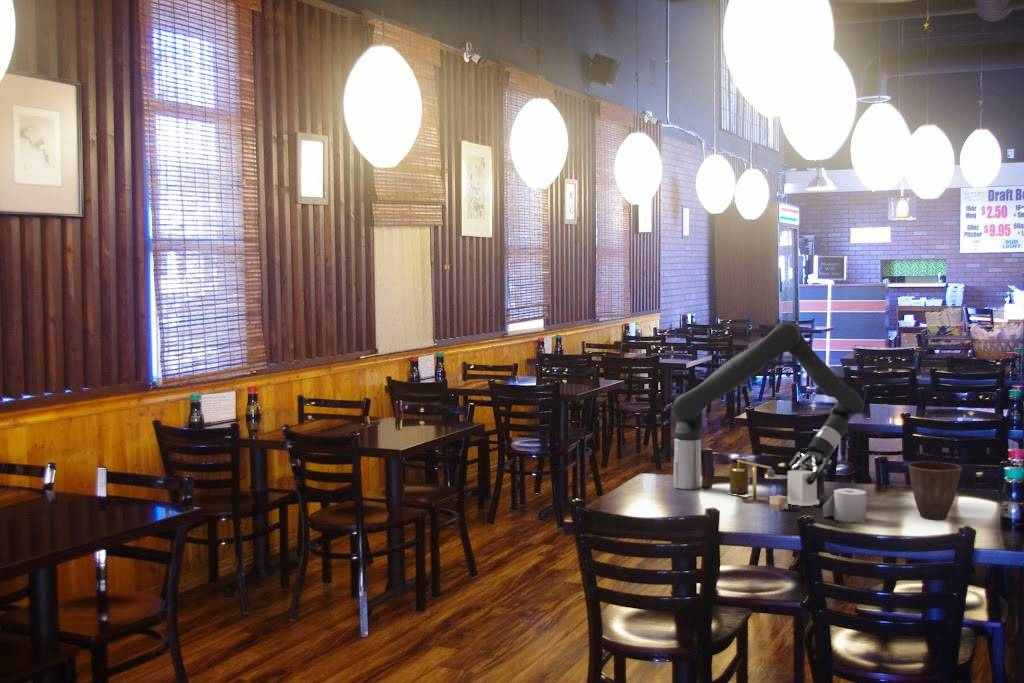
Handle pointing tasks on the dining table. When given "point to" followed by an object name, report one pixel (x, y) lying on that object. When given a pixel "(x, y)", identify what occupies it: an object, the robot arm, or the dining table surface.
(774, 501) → the block
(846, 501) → the toilet tissue
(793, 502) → the dish
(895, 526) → the dining table surface
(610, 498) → the dining table surface
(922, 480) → the plant pot
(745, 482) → the condiment
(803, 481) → the white rectangular block
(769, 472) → the balance
